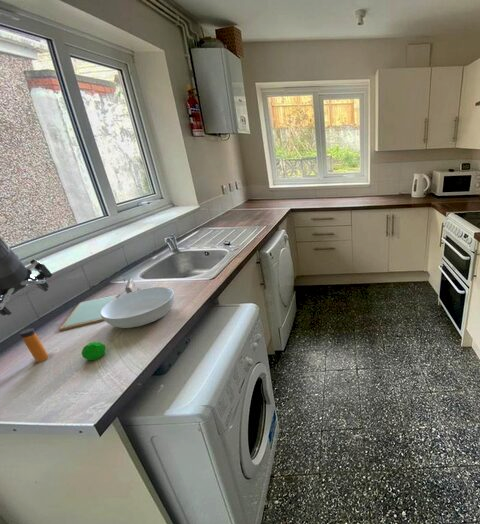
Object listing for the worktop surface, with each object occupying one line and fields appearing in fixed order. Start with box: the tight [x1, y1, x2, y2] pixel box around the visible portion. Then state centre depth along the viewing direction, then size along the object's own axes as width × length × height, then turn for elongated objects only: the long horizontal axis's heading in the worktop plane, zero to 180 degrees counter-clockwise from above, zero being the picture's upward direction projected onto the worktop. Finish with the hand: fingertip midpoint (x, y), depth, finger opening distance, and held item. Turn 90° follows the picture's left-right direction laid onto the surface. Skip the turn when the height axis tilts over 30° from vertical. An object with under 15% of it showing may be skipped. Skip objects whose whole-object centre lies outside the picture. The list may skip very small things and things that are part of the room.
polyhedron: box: [81, 341, 106, 361], centre depth 80 cm, size 5×5×5 cm
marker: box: [18, 327, 50, 363], centre depth 80 cm, size 3×3×10 cm
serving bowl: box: [100, 286, 175, 329], centre depth 99 cm, size 21×21×7 cm
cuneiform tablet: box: [123, 278, 138, 294], centre depth 116 cm, size 6×4×12 cm
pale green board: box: [59, 294, 119, 331], centre depth 105 cm, size 12×20×1 cm, turn 27°
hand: (26, 300), depth 75 cm, fingers open, 8 cm apart
